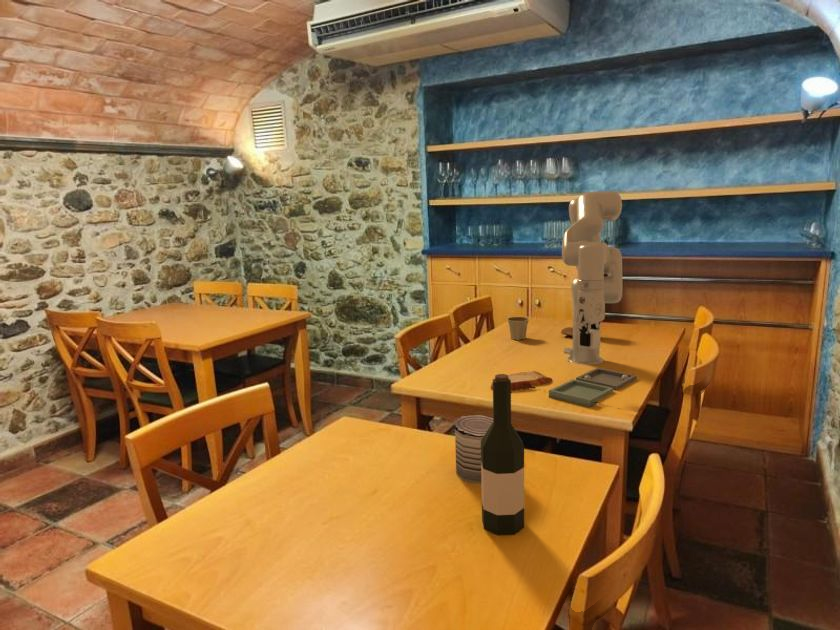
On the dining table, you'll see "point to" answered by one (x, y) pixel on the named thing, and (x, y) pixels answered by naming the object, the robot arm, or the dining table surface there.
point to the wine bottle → (502, 467)
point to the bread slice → (526, 380)
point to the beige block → (592, 339)
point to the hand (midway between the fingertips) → (589, 343)
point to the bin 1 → (580, 392)
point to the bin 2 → (607, 378)
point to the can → (470, 445)
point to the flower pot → (518, 327)
